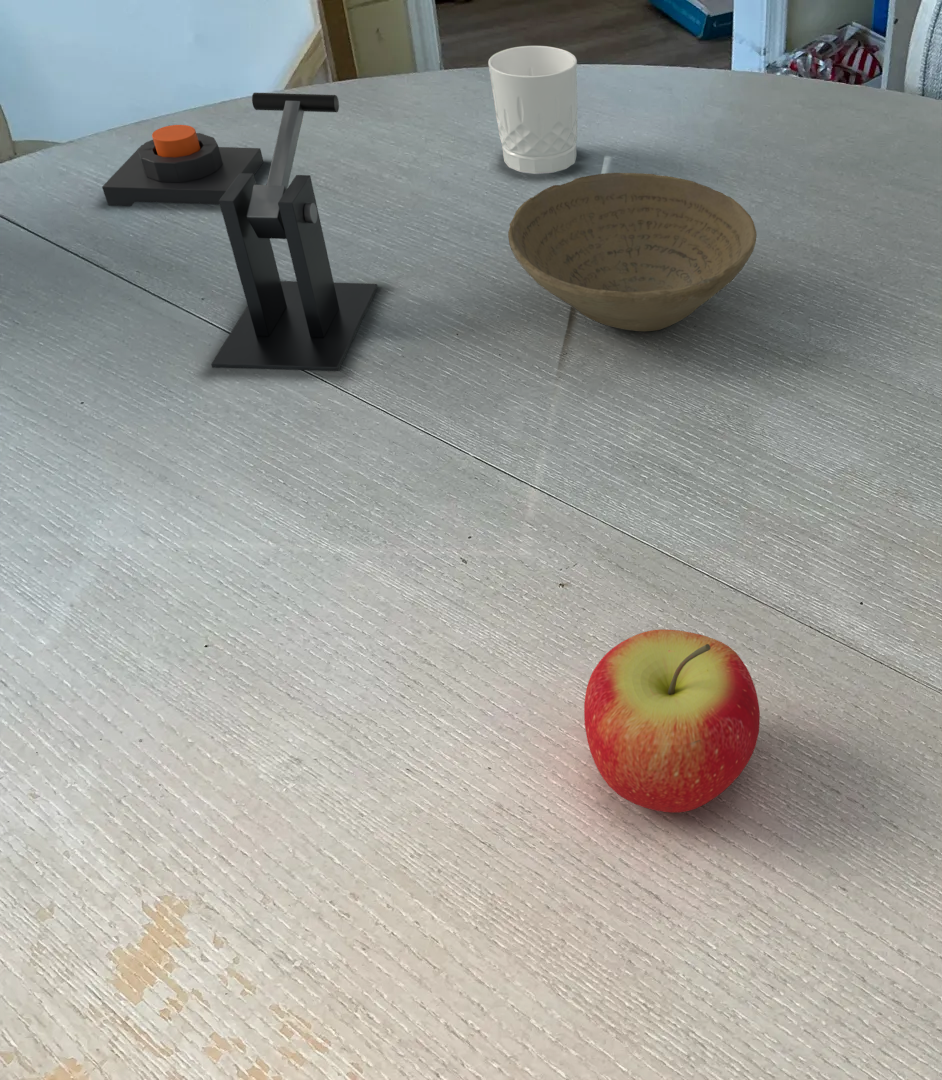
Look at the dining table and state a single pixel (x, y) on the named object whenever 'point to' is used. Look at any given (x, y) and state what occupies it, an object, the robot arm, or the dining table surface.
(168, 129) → the button
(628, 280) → the bowl
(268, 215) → the lever
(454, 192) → the dining table surface
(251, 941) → the dining table surface
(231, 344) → the bracket
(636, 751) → the apple
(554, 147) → the white cup
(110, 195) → the button box
